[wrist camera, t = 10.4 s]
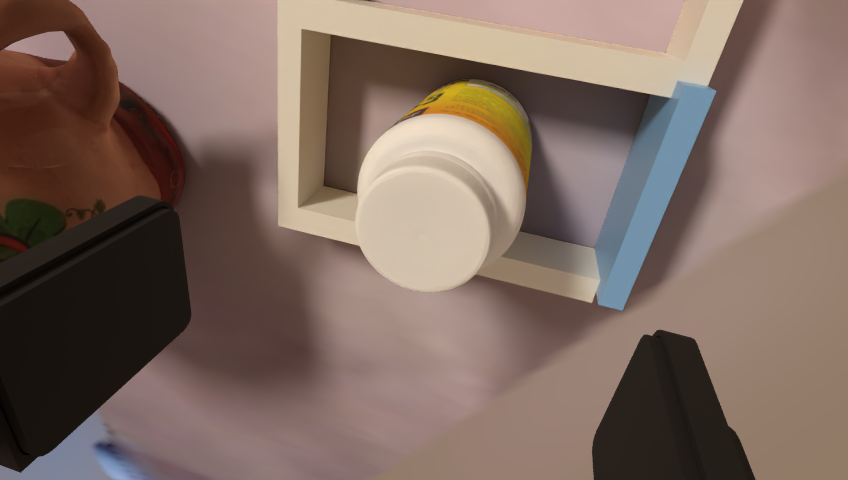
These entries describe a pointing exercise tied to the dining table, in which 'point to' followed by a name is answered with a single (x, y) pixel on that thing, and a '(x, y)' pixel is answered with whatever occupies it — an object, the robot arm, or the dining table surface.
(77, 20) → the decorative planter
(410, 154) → the supplement bottle
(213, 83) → the dining table surface
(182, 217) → the dining table surface
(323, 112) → the white divided tray
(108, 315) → the robot arm
